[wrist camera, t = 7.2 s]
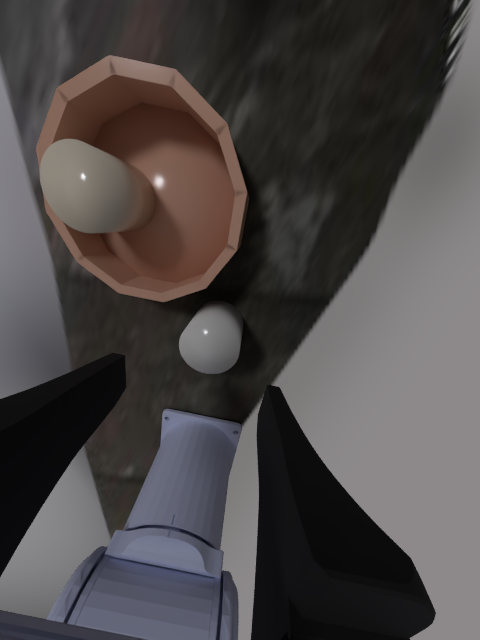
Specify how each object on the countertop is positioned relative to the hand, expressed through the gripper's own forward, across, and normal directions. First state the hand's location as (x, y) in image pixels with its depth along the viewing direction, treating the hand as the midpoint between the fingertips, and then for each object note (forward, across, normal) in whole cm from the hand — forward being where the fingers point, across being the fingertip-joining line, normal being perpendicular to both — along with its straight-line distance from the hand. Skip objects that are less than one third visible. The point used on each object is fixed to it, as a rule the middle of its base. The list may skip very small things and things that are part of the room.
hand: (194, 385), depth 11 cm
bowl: (+8, +5, -8) cm, 12 cm away
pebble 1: (+7, +7, -8) cm, 13 cm away
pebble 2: (+8, 0, 0) cm, 8 cm away
